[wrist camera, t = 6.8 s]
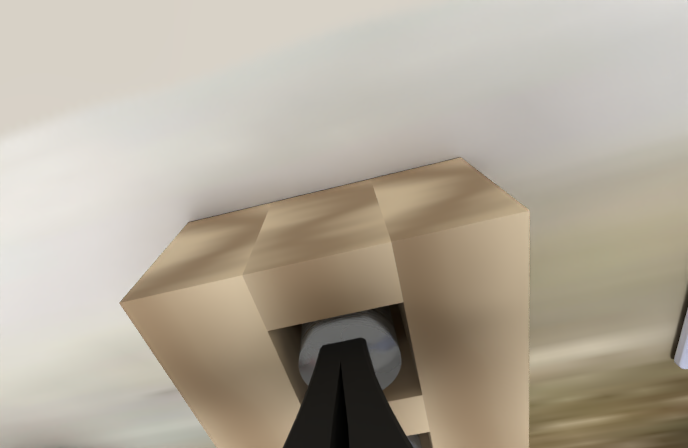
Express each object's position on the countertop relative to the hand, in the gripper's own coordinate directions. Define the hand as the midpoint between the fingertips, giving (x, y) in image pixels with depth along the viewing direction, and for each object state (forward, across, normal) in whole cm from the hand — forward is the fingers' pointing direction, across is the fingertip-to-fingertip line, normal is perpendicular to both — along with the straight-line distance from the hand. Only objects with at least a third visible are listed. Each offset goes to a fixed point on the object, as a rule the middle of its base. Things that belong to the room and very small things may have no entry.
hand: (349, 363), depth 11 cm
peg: (+5, 0, 0) cm, 5 cm away
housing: (+5, 0, +2) cm, 6 cm away
